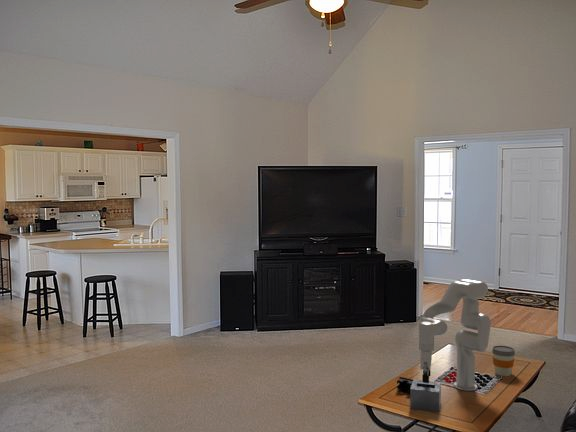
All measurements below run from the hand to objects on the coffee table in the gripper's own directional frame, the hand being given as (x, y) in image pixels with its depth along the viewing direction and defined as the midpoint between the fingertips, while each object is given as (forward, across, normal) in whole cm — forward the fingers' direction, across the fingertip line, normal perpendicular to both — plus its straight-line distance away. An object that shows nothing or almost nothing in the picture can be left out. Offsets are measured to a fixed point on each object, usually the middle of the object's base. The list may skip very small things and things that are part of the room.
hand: (426, 379), depth 271 cm
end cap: (+14, -15, -11) cm, 24 cm away
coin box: (+13, +1, 0) cm, 13 cm away
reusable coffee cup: (+15, -61, +40) cm, 75 cm away
